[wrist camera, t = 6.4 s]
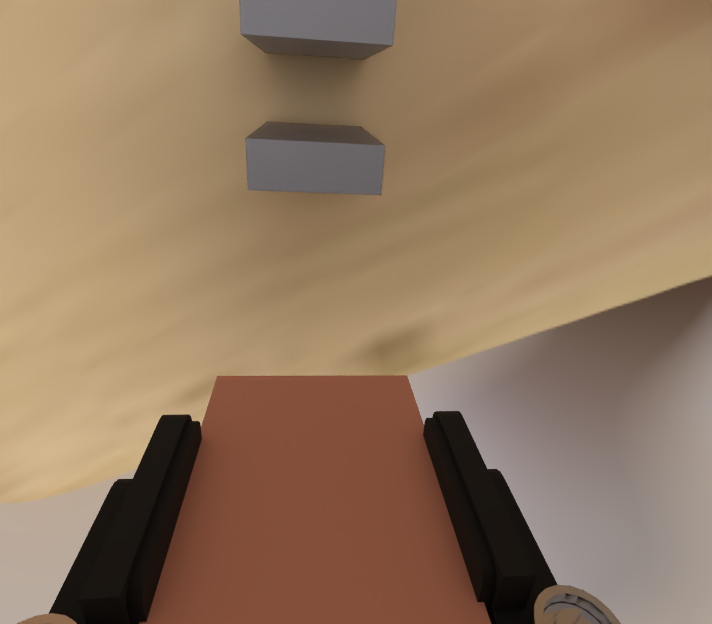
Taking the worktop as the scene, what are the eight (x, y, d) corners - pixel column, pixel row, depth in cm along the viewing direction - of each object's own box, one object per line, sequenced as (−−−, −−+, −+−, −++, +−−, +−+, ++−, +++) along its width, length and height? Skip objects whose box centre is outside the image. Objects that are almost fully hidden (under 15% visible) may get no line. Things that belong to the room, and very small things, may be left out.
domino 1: (264, 9, 22) (237, -35, 14) (366, 18, 23) (398, -20, 15) (265, 52, 23) (240, 34, 15) (364, 59, 23) (393, 45, 15)
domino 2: (266, 121, 24) (245, 138, 16) (360, 126, 25) (385, 145, 17) (267, 157, 25) (247, 189, 17) (358, 161, 26) (381, 195, 18)
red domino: (217, 376, 12) (26, 978, 4) (406, 375, 12) (586, 904, 4) (222, 430, 13) (72, 1025, 5) (400, 428, 13) (542, 959, 5)
